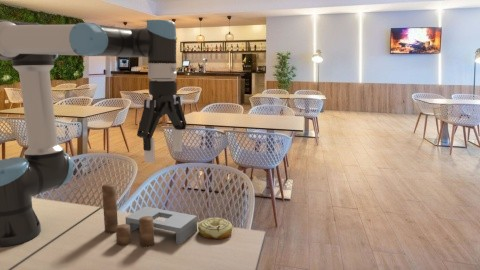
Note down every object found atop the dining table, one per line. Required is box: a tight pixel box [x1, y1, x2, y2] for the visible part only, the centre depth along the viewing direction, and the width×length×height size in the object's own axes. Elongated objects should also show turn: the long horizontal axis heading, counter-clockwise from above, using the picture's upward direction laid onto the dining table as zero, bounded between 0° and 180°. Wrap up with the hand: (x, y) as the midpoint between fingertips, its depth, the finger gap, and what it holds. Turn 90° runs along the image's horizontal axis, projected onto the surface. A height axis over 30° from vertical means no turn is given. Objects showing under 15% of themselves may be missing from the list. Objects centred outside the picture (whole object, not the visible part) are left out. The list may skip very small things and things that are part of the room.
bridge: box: [124, 206, 198, 245], centre depth 119 cm, size 20×10×5 cm, turn 67°
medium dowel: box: [138, 216, 155, 248], centre depth 110 cm, size 4×4×8 cm
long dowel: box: [101, 183, 119, 234], centre depth 118 cm, size 4×4×15 cm
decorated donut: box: [197, 217, 234, 240], centre depth 119 cm, size 10×11×4 cm
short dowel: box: [115, 223, 132, 247], centre depth 111 cm, size 4×4×5 cm
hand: (164, 156), depth 105 cm, fingers open, 13 cm apart
